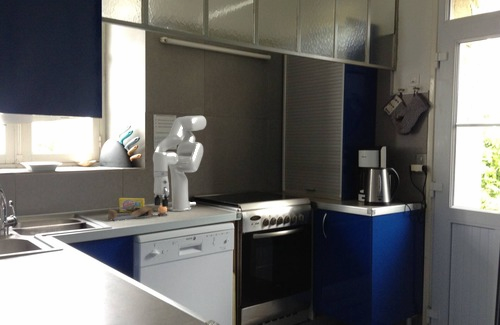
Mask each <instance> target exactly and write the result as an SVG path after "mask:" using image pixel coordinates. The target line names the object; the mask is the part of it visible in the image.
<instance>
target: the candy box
mask: <svg viewBox="0 0 500 325" xmlns="http://www.w3.org/2000/svg"><path fill="white" fill-rule="evenodd" d="M145 202H146V201H145V198H141V197H140V198H137V197H136V198H135V197H134V198H133V197H120V198H118V203H119V204H118V205H119V213H132V212H134V211H136V210H138V209H140V208H142V207H143V206H145Z"/></svg>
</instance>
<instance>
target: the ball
mask: <svg viewBox="0 0 500 325" xmlns="http://www.w3.org/2000/svg"><path fill="white" fill-rule="evenodd" d="M157 207H158V208H157V212H158V213H160V214H165V213H166V214H167V212H168V208H167V207H162V204H160V205H158V206H157Z"/></svg>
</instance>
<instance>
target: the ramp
mask: <svg viewBox="0 0 500 325" xmlns="http://www.w3.org/2000/svg"><path fill="white" fill-rule="evenodd" d="M153 210H154V207H153V206H152V205H151V206H150V205H148V204H146V205H145V206H143V207H142V208H140V209H138V210H136V211H134V212H130V213H129V216H130V215H135V217H138V216H140V215H142V214H145V215H148V216H149V215H154V214H153ZM107 212H108V213H107V215H108V216H109V218H110V219H113V220H114V218H115V219H116V218H117V215H118V211H117V210H114V209H108V210H107ZM110 219H109V220H110ZM113 220H112V221H113Z"/></svg>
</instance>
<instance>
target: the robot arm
mask: <svg viewBox="0 0 500 325" xmlns="http://www.w3.org/2000/svg"><path fill="white" fill-rule="evenodd" d="M206 126H207V119H206V117H205V116H203V115H186V116H179V117H176V118H175V119H174V121H173V124H172V126H171V129H170V131H169V132H168V133H169V134H168V135H167V137H165V138H164V139H162V140H161V141H160V142H159V143H158V144H157V145H156V147H155V148H154V152H153V155H152V162H153V178H154V182H153V196H154V197H153V198H154V206H157V207H158V206H160V205H162V207H168V206H169V196H170V186H169V185H170V183H169V173H168V172H169V171H170V177H171V178H170V180H171V207H169V211H172V212H184V211H190V210H192V207H191V206H196V205H197V203H196V201H192V202H191V201H189V181H188V177H187V176H186V174H185V173H195V172H197V171H198V169H199V167H200V164H201V161H202V159H203V156H204V146H203V144H202V143H201V142H198V141H196V136H195V135H194V133H193V132H196V131H202V130H204V129H205V128H206ZM174 147H177V148H176V152H175V151H168V150H169V149H171V148H174ZM168 170H169V171H168ZM160 197H161V198H162V199H161V198H160Z"/></svg>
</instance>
